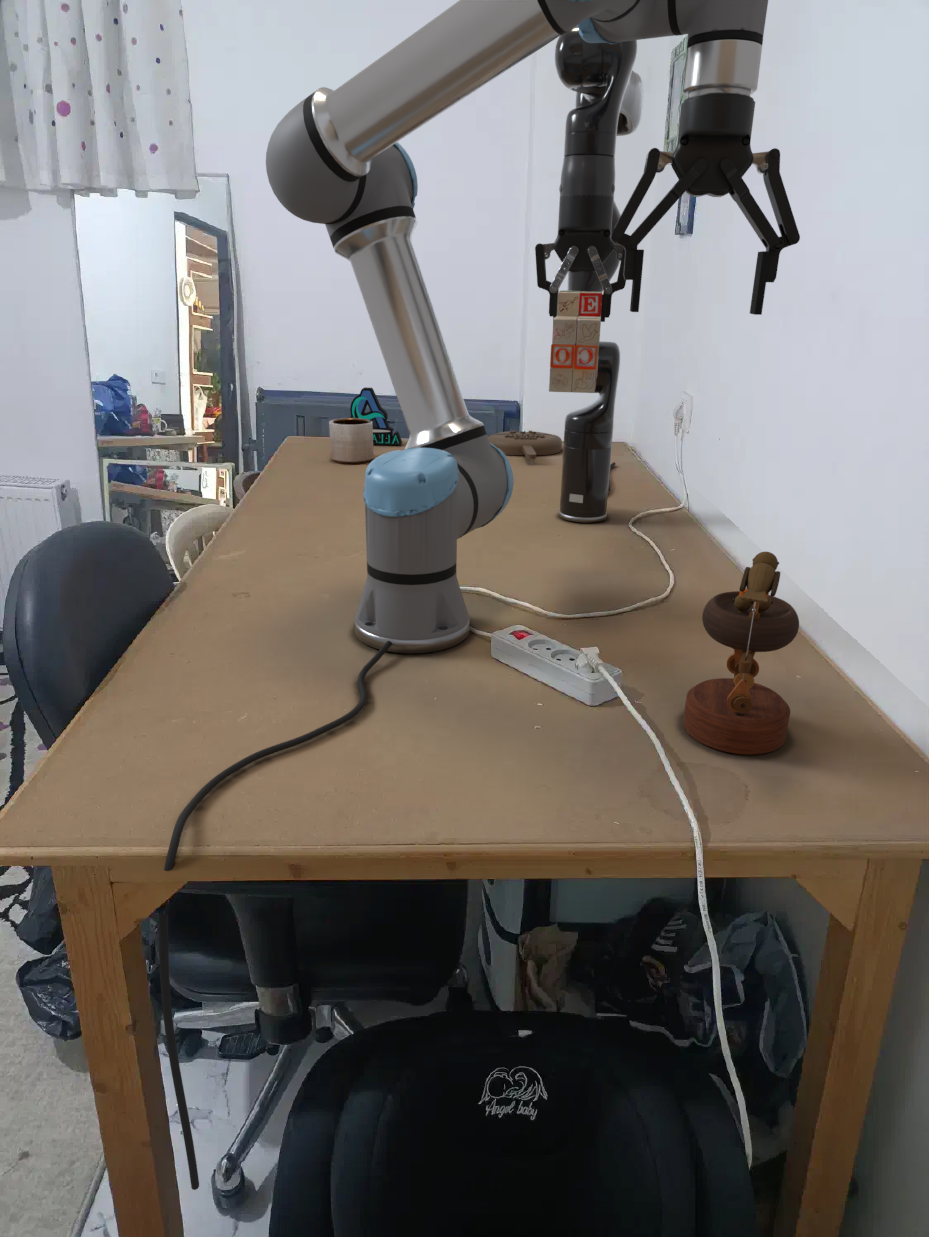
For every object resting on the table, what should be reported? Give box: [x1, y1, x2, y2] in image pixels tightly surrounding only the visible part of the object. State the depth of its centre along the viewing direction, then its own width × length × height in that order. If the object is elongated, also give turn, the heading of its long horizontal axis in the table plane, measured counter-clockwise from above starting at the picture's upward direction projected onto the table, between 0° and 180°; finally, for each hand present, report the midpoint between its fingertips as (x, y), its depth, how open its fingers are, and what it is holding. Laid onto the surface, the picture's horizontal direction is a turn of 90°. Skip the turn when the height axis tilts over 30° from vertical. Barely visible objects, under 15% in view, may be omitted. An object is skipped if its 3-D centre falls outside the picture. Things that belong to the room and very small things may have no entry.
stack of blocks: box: [548, 290, 603, 394], centre depth 119 cm, size 21×6×12 cm, turn 171°
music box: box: [682, 551, 800, 755], centre depth 87 cm, size 15×11×20 cm
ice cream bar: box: [487, 430, 563, 460], centre depth 224 cm, size 21×28×4 cm
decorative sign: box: [349, 387, 403, 446], centre depth 231 cm, size 19×2×15 cm, turn 86°
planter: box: [328, 417, 375, 464], centre depth 212 cm, size 11×11×10 cm
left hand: (694, 313), depth 96 cm, fingers open, 13 cm apart
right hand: (578, 320), depth 124 cm, fingers closed on stack of blocks, 6 cm apart
